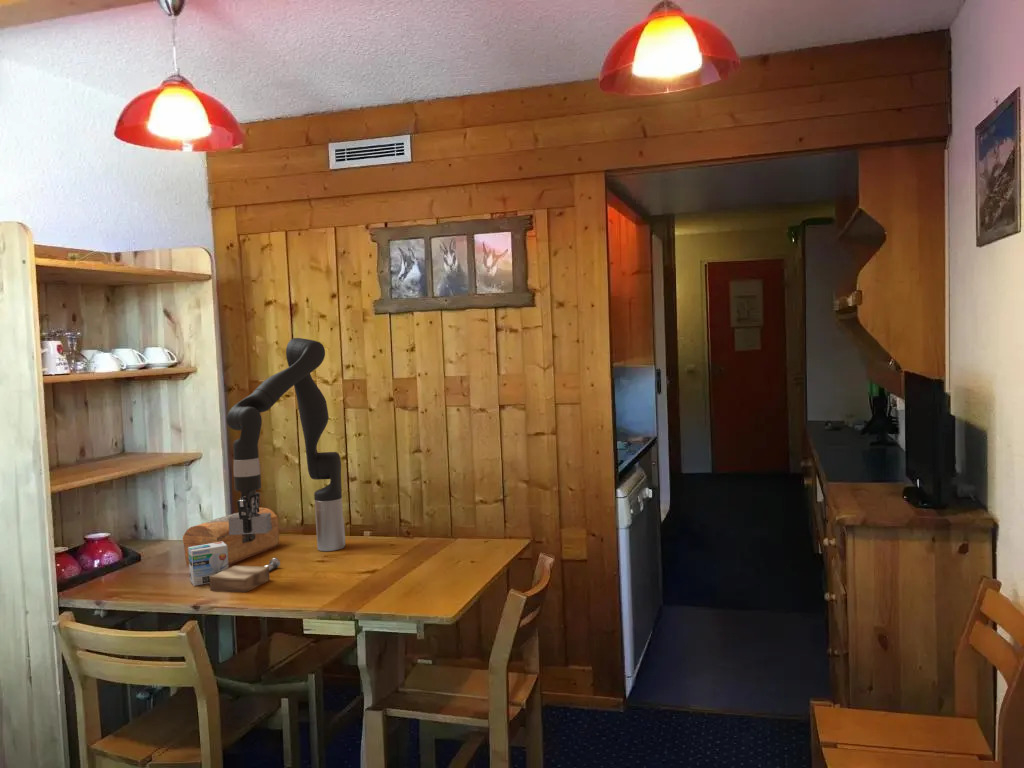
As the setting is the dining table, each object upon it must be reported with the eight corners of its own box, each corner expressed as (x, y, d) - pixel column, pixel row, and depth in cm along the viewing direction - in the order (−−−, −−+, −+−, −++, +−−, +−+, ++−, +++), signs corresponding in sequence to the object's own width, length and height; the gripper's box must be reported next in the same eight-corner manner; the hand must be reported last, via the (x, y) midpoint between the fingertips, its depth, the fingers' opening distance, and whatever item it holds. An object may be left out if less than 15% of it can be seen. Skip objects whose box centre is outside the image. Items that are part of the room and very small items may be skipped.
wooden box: (222, 569, 261) (219, 526, 260) (183, 566, 268) (180, 524, 267) (283, 546, 288) (281, 507, 288) (247, 543, 295) (244, 505, 294)
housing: (271, 529, 245) (270, 512, 244) (267, 533, 240) (266, 516, 240) (234, 531, 244) (233, 514, 244) (229, 535, 239) (228, 518, 239)
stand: (235, 578, 249) (234, 565, 249) (269, 579, 246) (268, 566, 246) (210, 590, 238) (209, 577, 238) (245, 592, 234) (244, 578, 234)
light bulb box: (193, 586, 243) (191, 551, 242) (189, 581, 248) (186, 546, 248) (230, 579, 248) (228, 544, 248) (225, 574, 254) (223, 540, 254)
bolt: (271, 567, 260) (270, 557, 260) (280, 567, 259) (279, 557, 259) (260, 572, 254) (259, 562, 254) (269, 573, 253) (268, 563, 253)
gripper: (252, 476, 234) (255, 535, 235) (266, 469, 249) (270, 524, 249) (226, 478, 234) (229, 536, 235) (242, 470, 248) (245, 526, 249)
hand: (250, 530), depth 242 cm, fingers closed on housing, 5 cm apart
